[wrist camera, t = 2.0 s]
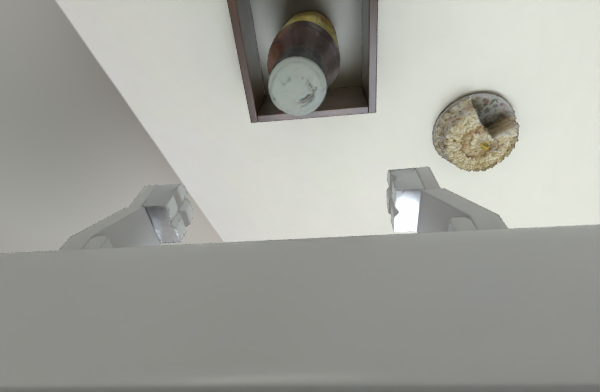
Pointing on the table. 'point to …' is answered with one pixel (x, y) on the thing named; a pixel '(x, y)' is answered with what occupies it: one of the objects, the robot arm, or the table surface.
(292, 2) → the table surface
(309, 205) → the table surface
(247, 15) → the caddy
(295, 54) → the sauce bottle
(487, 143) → the cake
